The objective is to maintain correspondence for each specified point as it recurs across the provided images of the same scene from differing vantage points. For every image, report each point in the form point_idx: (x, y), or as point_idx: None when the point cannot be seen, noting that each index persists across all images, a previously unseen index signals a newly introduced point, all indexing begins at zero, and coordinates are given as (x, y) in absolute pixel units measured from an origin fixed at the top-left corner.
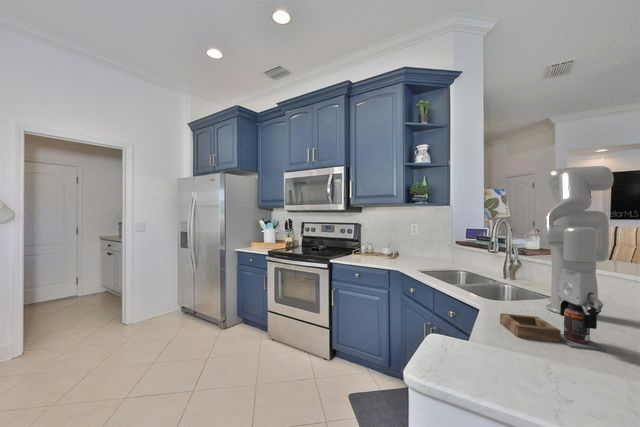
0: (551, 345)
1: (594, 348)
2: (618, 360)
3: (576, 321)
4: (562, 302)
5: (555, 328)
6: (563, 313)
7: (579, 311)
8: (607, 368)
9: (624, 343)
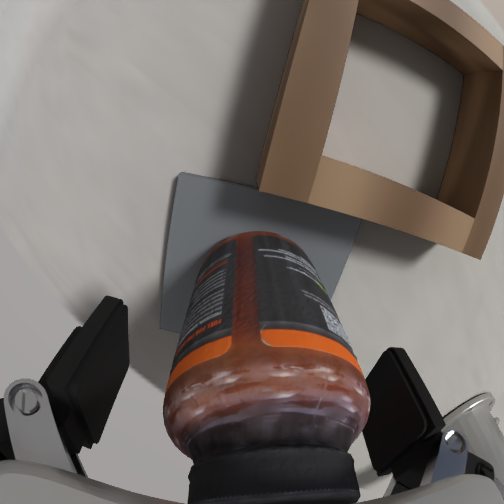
0: (203, 72)
1: (163, 287)
2: (84, 288)
3: (195, 328)
4: (437, 443)
5: (302, 184)
6: (388, 369)
7: (194, 440)
8: (17, 172)
9: None
